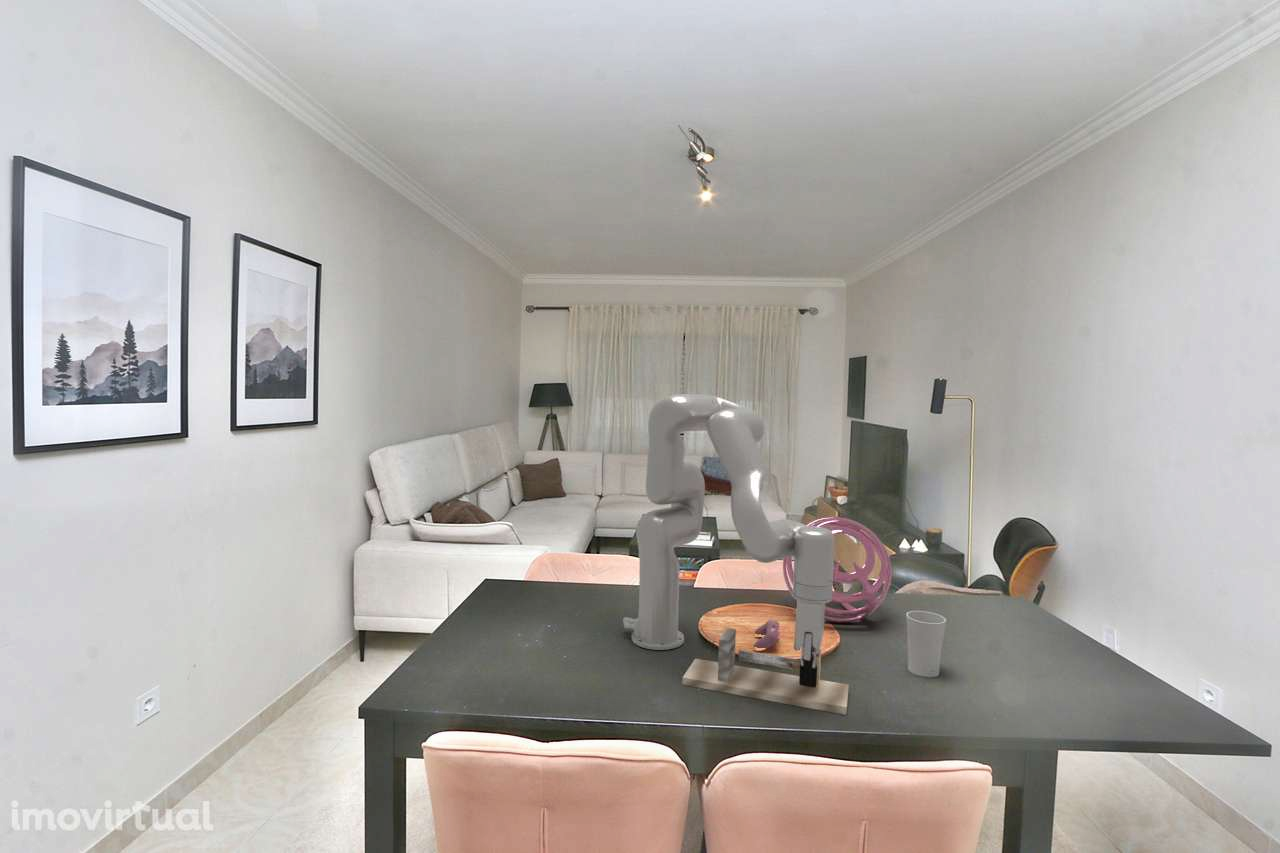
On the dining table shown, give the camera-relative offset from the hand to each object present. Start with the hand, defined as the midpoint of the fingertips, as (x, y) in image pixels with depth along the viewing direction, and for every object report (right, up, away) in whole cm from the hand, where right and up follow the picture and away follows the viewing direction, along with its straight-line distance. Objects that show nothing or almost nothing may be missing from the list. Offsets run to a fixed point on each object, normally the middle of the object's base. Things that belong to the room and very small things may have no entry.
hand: (808, 679), depth 128 cm
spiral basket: (+19, -1, +45) cm, 49 cm away
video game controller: (-3, -2, +26) cm, 26 cm away
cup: (+29, -3, +13) cm, 32 cm away
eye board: (-8, -3, +3) cm, 9 cm away
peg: (-6, 0, +2) cm, 6 cm away
